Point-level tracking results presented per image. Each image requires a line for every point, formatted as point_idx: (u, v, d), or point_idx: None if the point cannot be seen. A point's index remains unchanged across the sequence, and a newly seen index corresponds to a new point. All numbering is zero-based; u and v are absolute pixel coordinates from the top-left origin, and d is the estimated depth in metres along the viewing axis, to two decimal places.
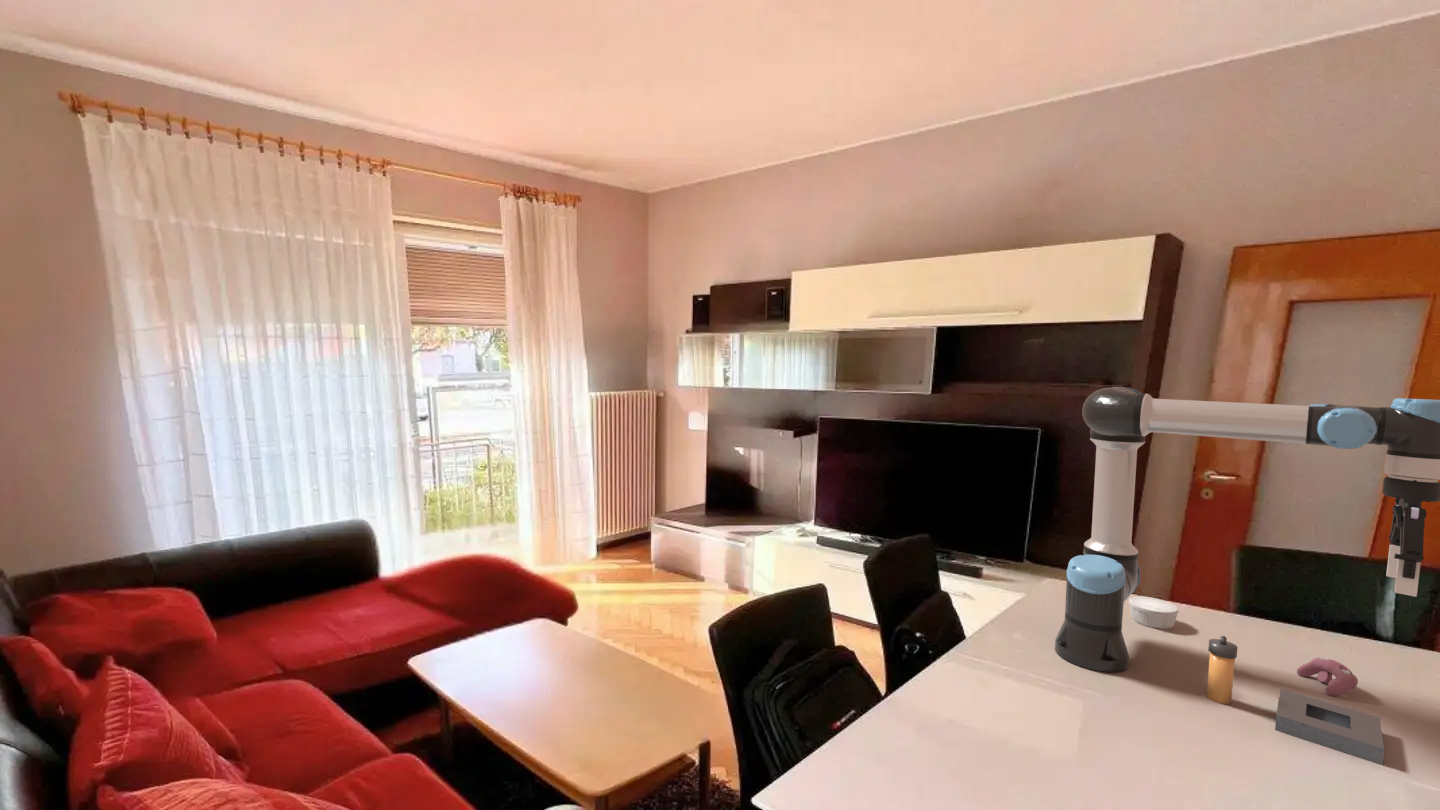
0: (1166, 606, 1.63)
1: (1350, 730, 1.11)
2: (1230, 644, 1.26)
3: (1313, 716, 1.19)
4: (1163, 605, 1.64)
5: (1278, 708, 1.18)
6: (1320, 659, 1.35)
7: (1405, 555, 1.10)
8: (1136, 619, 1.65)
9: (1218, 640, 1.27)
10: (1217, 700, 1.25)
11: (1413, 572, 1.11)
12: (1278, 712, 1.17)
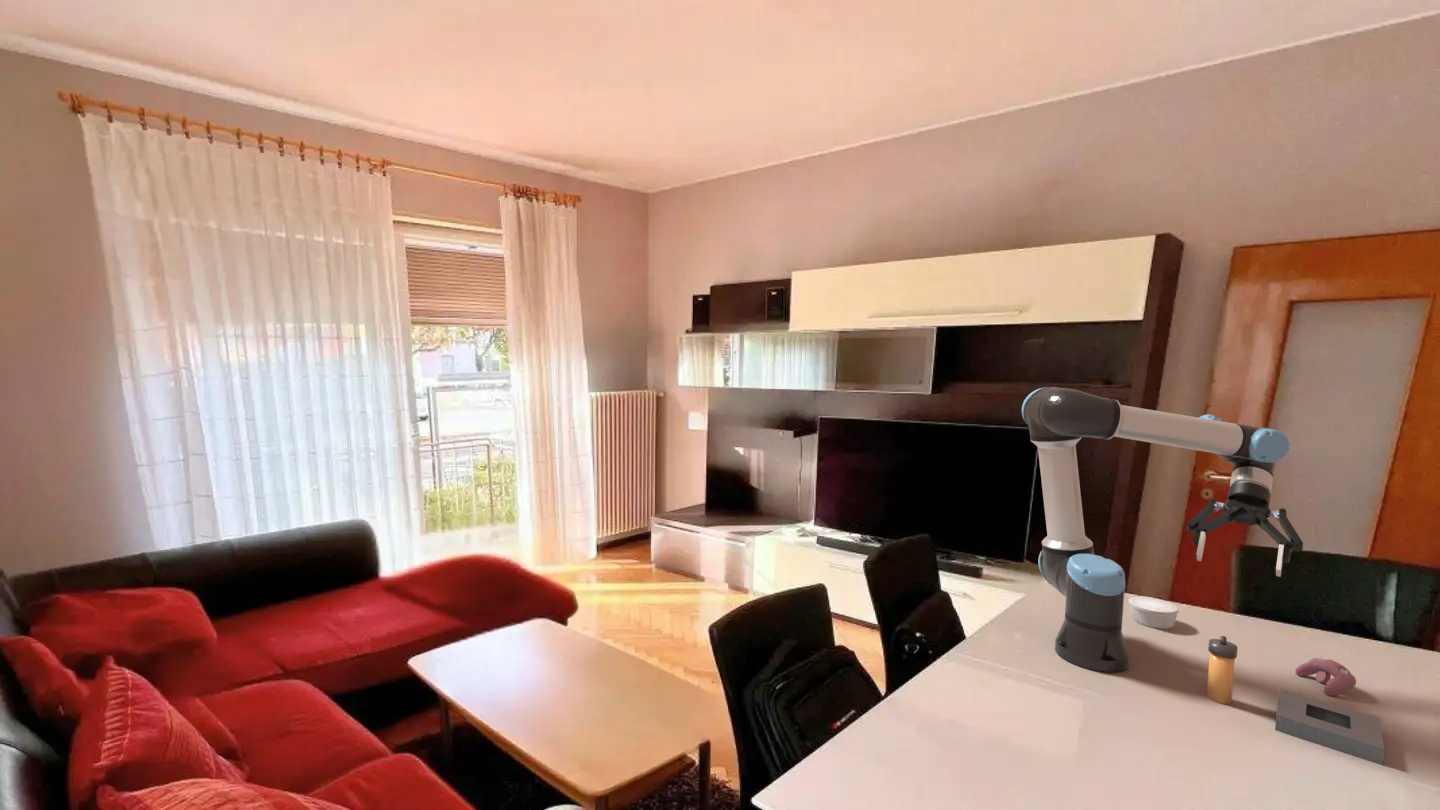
0: (1166, 606, 1.63)
1: (1350, 730, 1.11)
2: (1230, 644, 1.26)
3: (1313, 716, 1.19)
4: (1163, 605, 1.64)
5: (1278, 708, 1.18)
6: (1318, 659, 1.35)
7: (1302, 544, 1.31)
8: (1136, 619, 1.65)
9: (1218, 640, 1.27)
10: (1217, 700, 1.25)
11: (1289, 557, 1.31)
12: (1278, 712, 1.17)
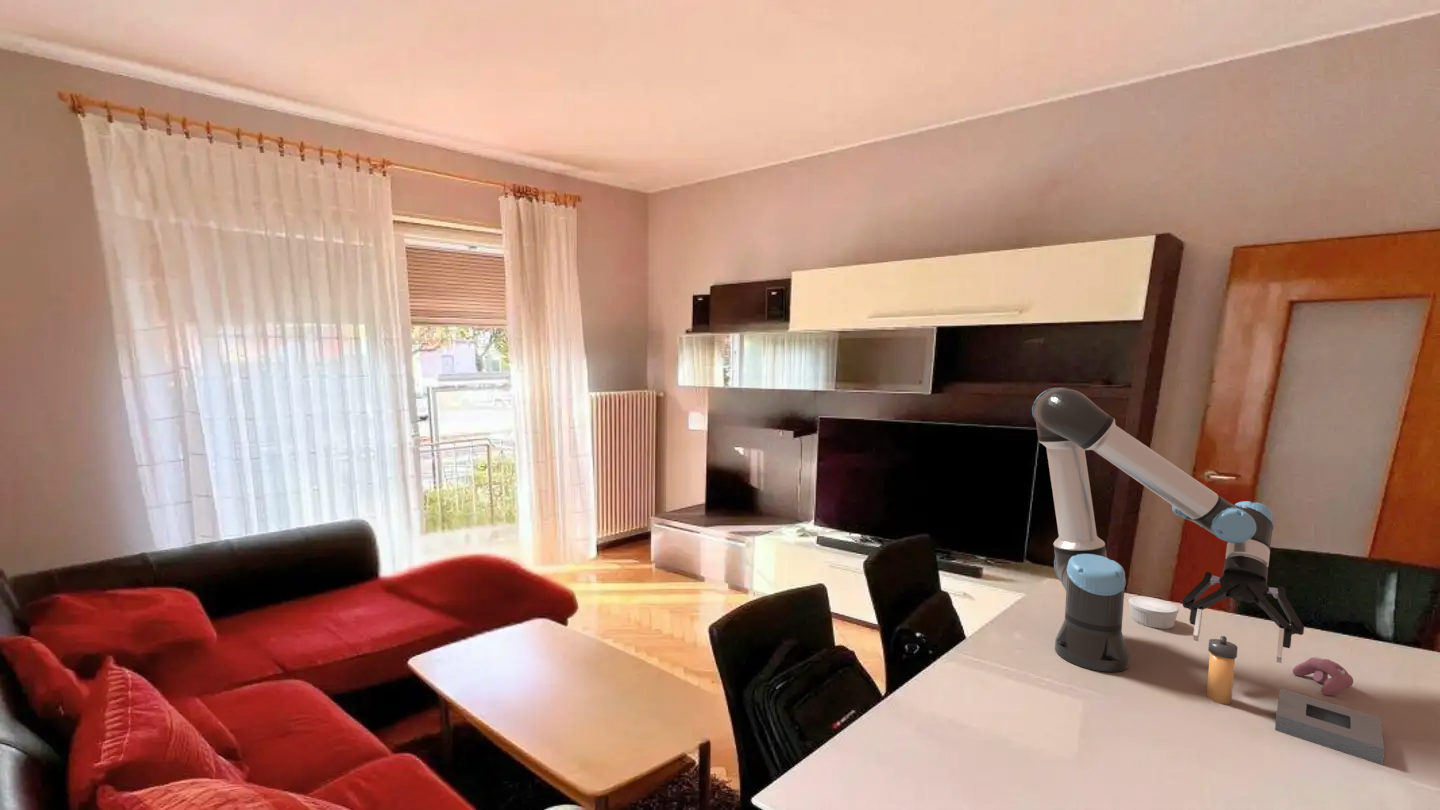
0: (1166, 606, 1.63)
1: (1350, 730, 1.11)
2: (1230, 644, 1.26)
3: (1313, 716, 1.19)
4: (1163, 605, 1.64)
5: (1278, 708, 1.18)
6: (1316, 659, 1.35)
7: (1303, 628, 1.25)
8: (1136, 619, 1.65)
9: (1218, 640, 1.27)
10: (1217, 700, 1.25)
11: (1290, 642, 1.25)
12: (1278, 712, 1.17)
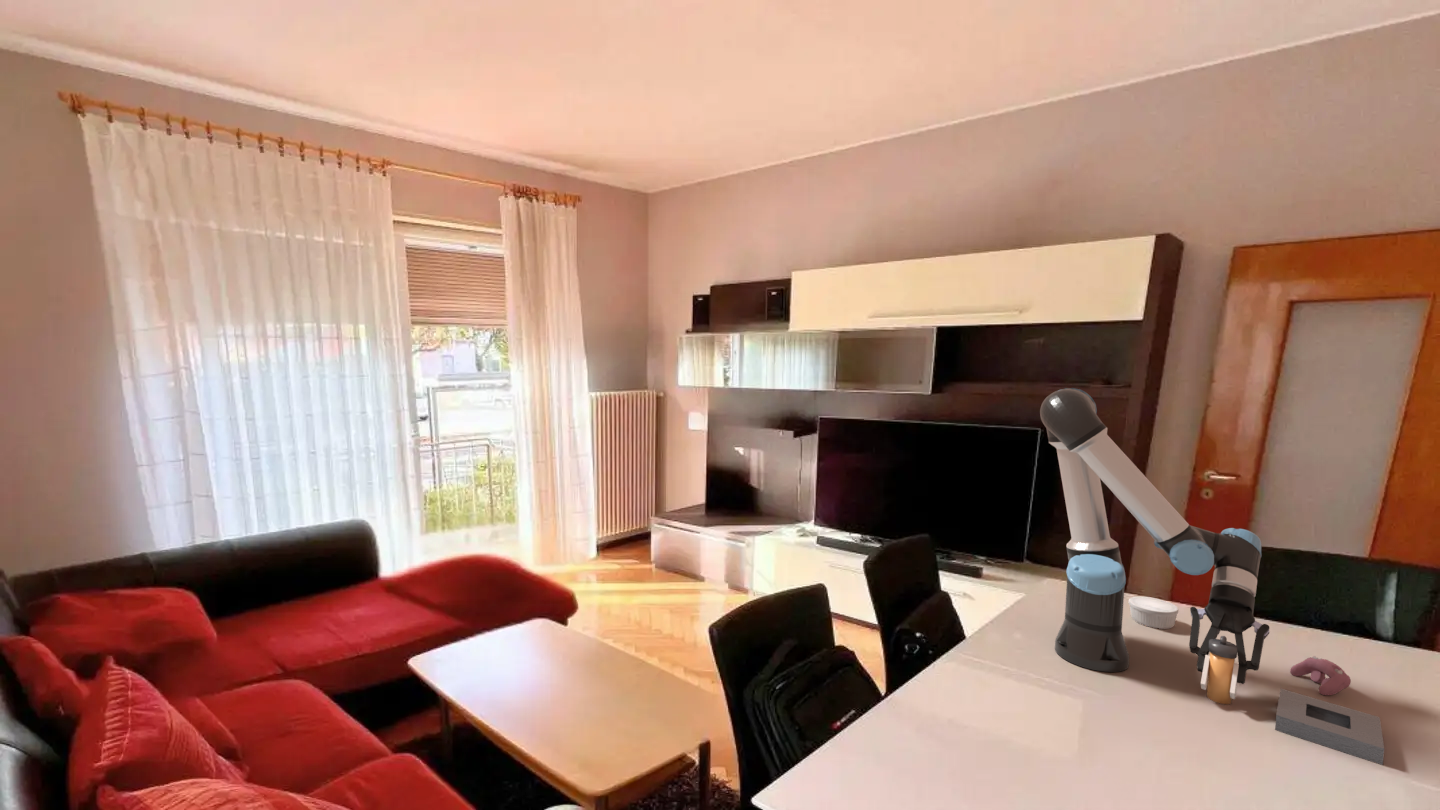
0: (1166, 606, 1.63)
1: (1350, 730, 1.11)
2: (1230, 644, 1.26)
3: (1313, 716, 1.19)
4: (1163, 605, 1.64)
5: (1278, 708, 1.18)
6: (1313, 659, 1.35)
7: (1258, 664, 1.23)
8: (1136, 619, 1.65)
9: (1218, 640, 1.27)
10: (1217, 700, 1.25)
11: None
12: (1278, 712, 1.17)
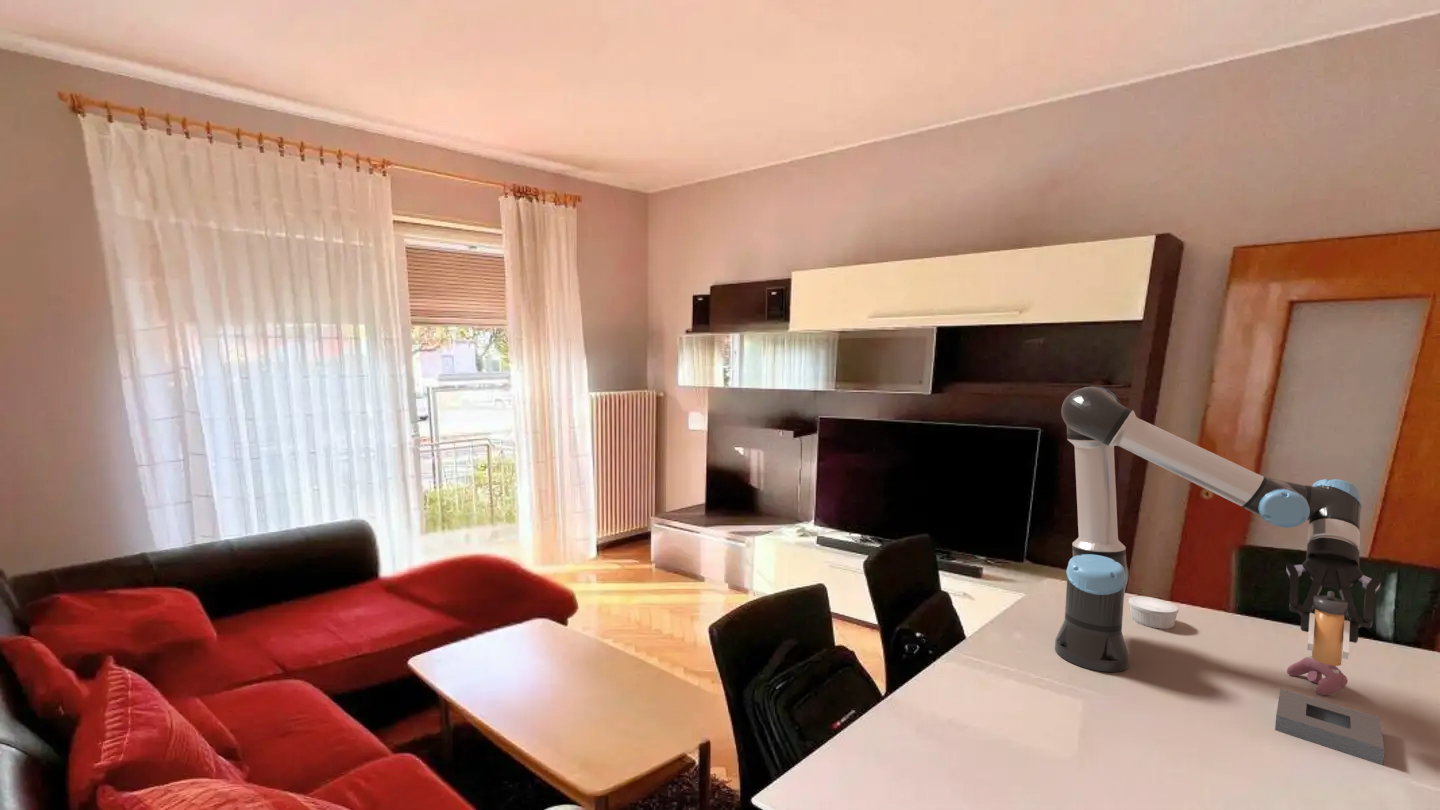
0: (1166, 606, 1.63)
1: (1350, 730, 1.11)
2: (1338, 599, 1.15)
3: (1313, 716, 1.19)
4: (1163, 605, 1.64)
5: (1278, 708, 1.18)
6: (1310, 658, 1.35)
7: None
8: (1136, 619, 1.64)
9: (1323, 596, 1.17)
10: (1326, 661, 1.14)
11: (1357, 636, 1.12)
12: (1278, 712, 1.17)
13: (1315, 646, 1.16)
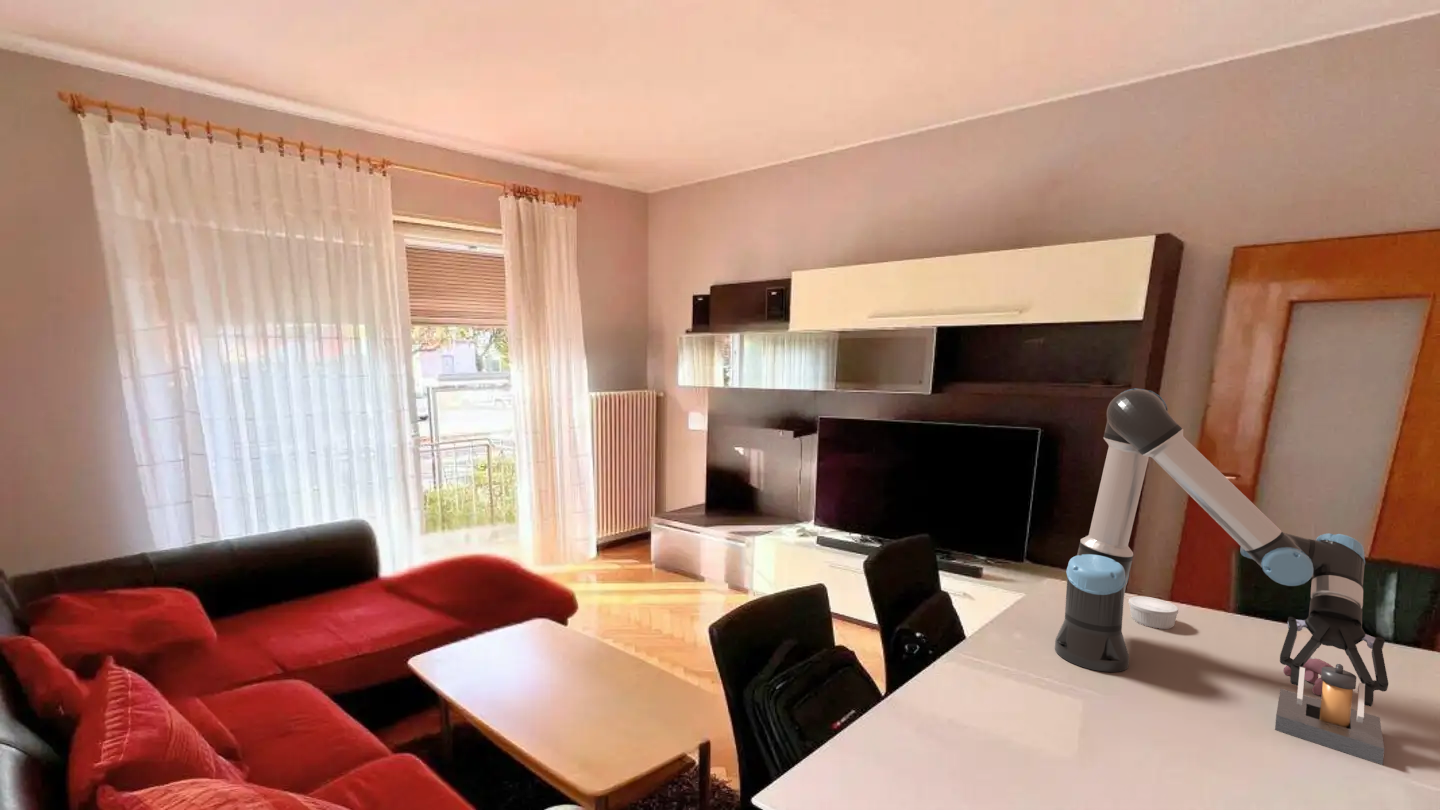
0: (1166, 606, 1.63)
1: (1350, 730, 1.11)
2: (1346, 672, 1.14)
3: (1313, 716, 1.19)
4: (1163, 604, 1.64)
5: (1278, 708, 1.18)
6: None
7: (1387, 684, 1.11)
8: (1136, 619, 1.64)
9: (1332, 668, 1.16)
10: None
11: (1372, 700, 1.11)
12: (1278, 712, 1.17)
13: (1322, 718, 1.15)
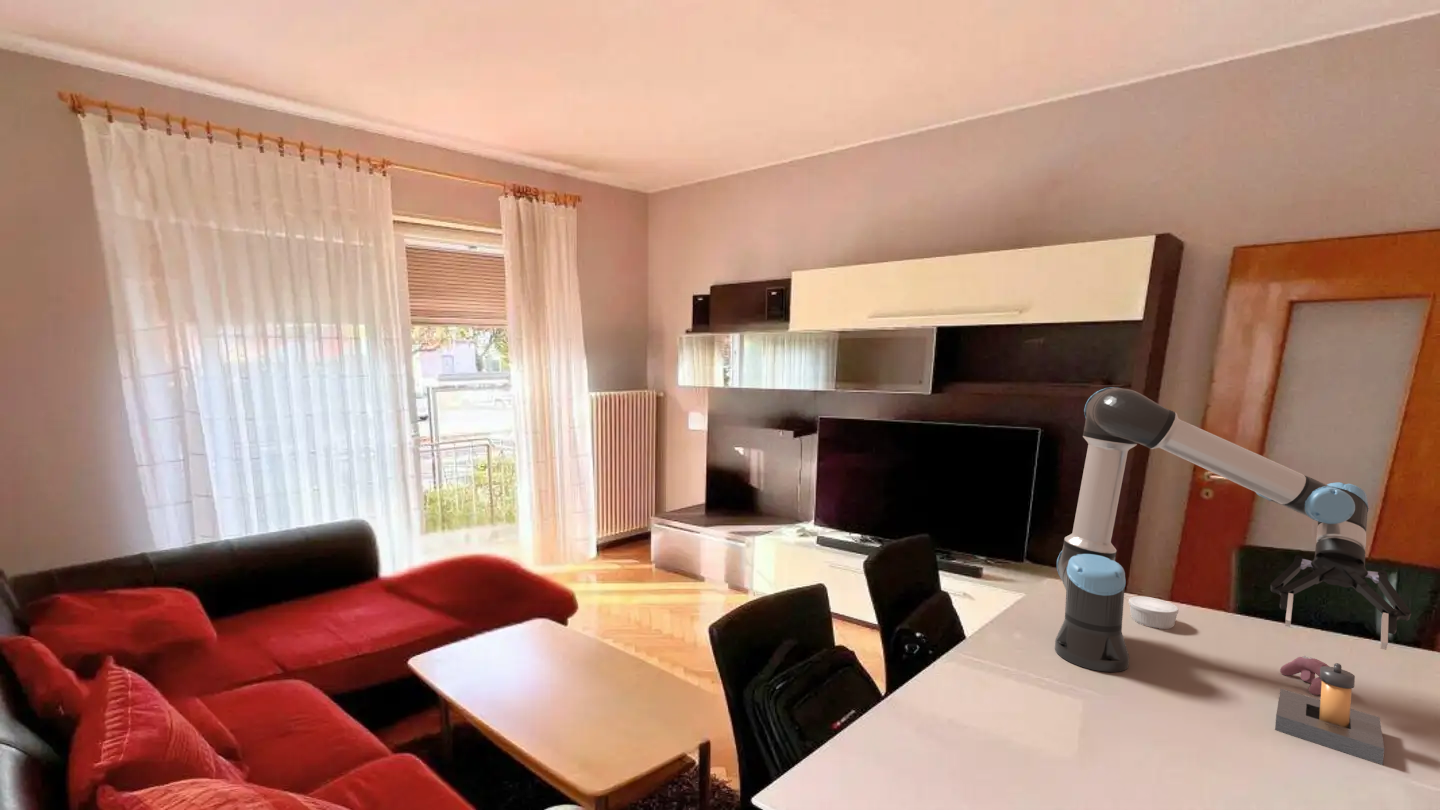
0: (1166, 606, 1.63)
1: (1350, 730, 1.11)
2: (1345, 672, 1.15)
3: (1313, 716, 1.19)
4: (1163, 604, 1.64)
5: (1278, 708, 1.18)
6: (1303, 658, 1.35)
7: (1410, 613, 1.17)
8: (1136, 619, 1.64)
9: (1330, 667, 1.16)
10: None
11: None
12: (1278, 712, 1.17)
13: (1322, 718, 1.15)
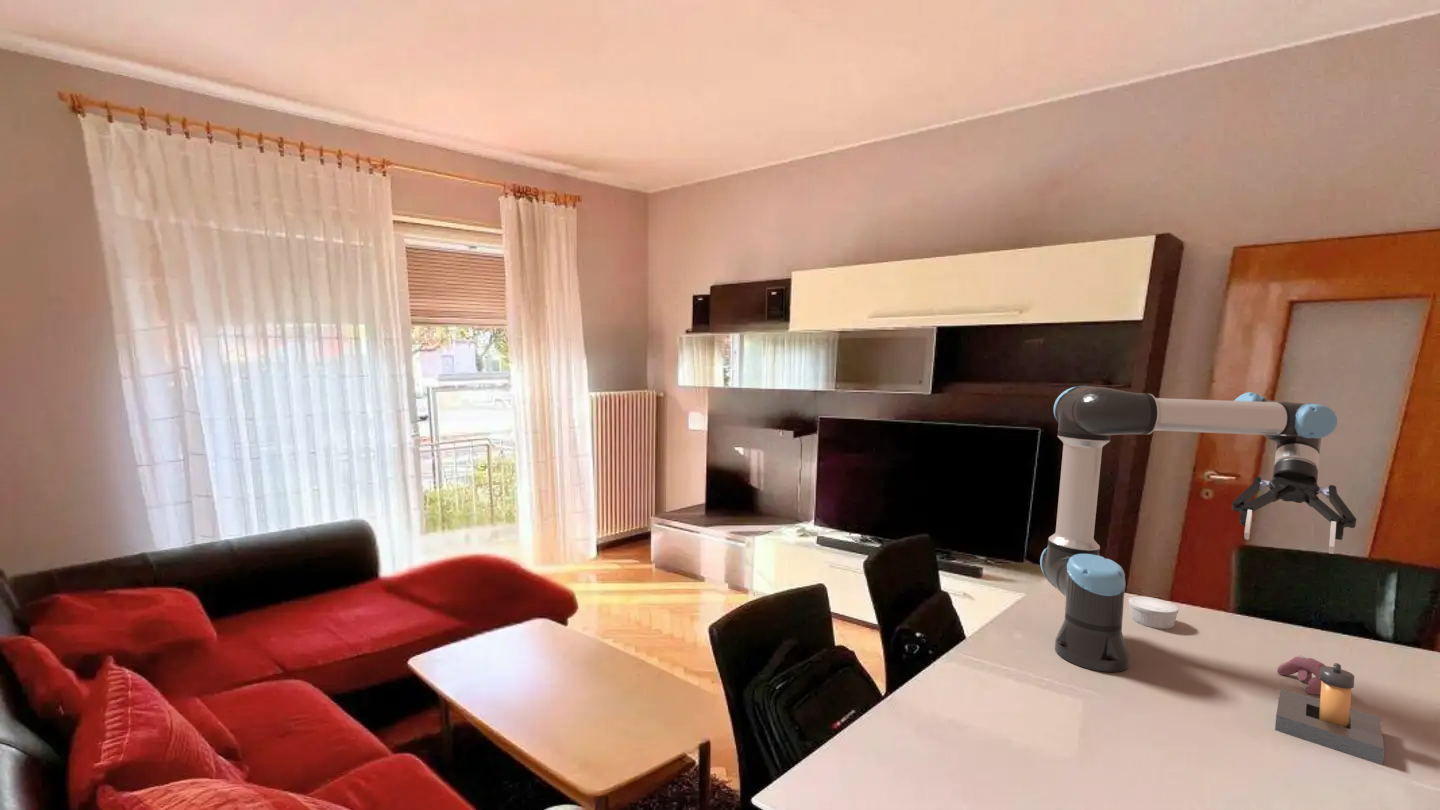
0: (1166, 606, 1.63)
1: (1350, 730, 1.11)
2: (1344, 671, 1.15)
3: (1313, 716, 1.19)
4: (1163, 604, 1.64)
5: (1278, 708, 1.18)
6: (1300, 658, 1.35)
7: (1355, 520, 1.28)
8: (1136, 619, 1.64)
9: (1329, 667, 1.16)
10: None
11: (1342, 534, 1.28)
12: (1278, 712, 1.17)
13: (1322, 718, 1.15)
